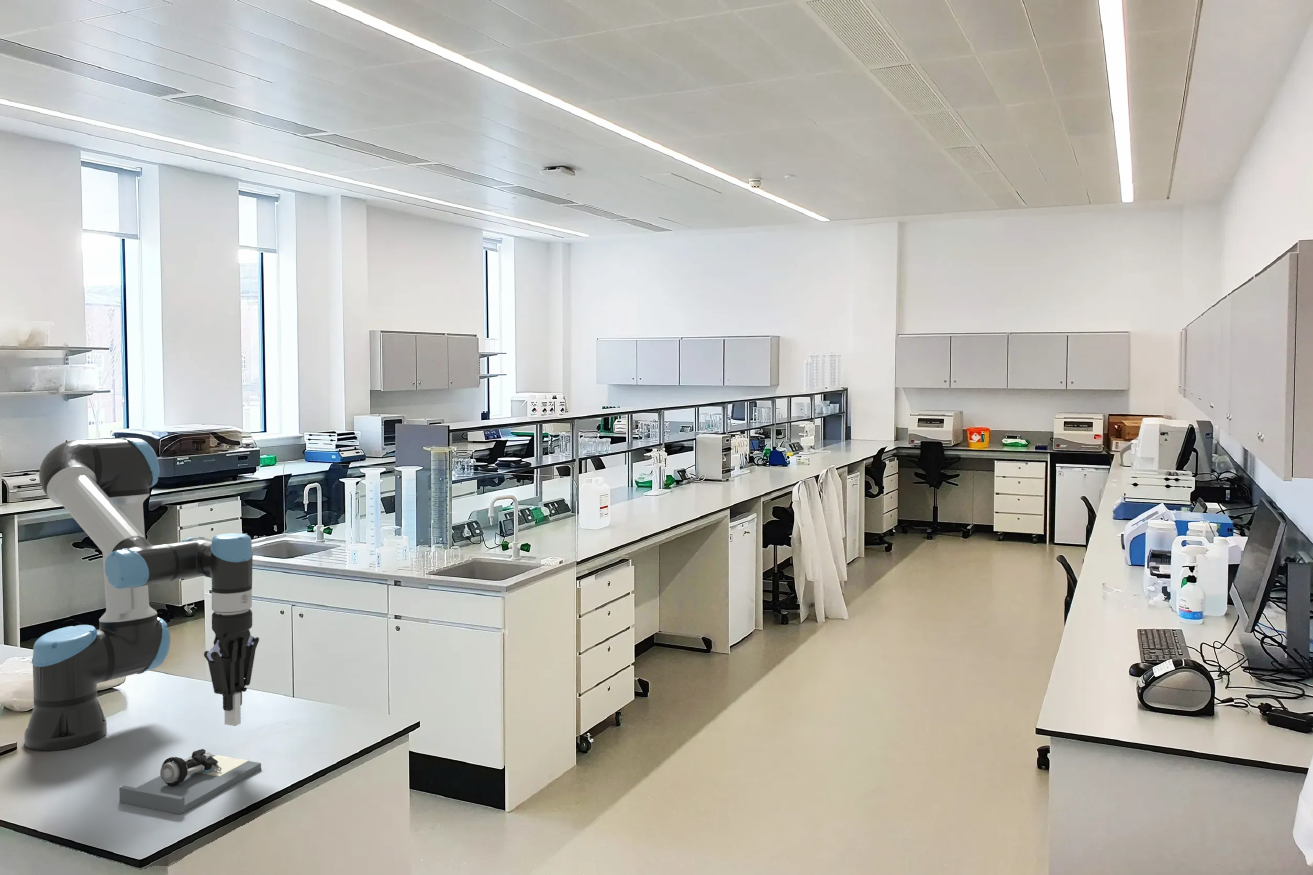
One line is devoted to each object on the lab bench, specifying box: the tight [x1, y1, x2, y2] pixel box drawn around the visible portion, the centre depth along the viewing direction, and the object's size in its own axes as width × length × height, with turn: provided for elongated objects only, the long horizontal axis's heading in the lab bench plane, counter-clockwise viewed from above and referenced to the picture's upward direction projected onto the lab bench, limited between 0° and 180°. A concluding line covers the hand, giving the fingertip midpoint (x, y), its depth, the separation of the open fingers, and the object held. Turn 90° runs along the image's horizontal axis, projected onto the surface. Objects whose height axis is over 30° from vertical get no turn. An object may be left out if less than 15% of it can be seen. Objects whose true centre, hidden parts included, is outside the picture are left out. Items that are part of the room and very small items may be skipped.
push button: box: [159, 748, 222, 786], centre depth 180 cm, size 7×5×10 cm
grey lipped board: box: [118, 754, 262, 815], centre depth 180 cm, size 14×21×3 cm, turn 163°
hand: (232, 723), depth 190 cm, fingers closed
